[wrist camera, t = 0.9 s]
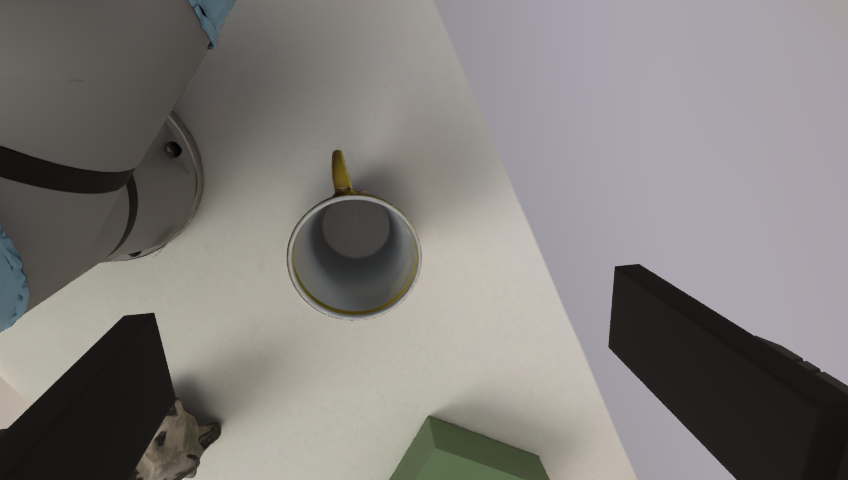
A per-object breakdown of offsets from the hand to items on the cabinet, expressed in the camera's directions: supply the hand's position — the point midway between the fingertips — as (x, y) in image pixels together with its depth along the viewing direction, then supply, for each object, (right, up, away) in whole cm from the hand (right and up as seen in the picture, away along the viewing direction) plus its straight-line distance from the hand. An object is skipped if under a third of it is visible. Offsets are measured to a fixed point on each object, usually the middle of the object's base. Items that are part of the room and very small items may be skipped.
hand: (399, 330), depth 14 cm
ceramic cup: (-6, +6, +31) cm, 32 cm away
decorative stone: (-27, -19, +27) cm, 43 cm away
